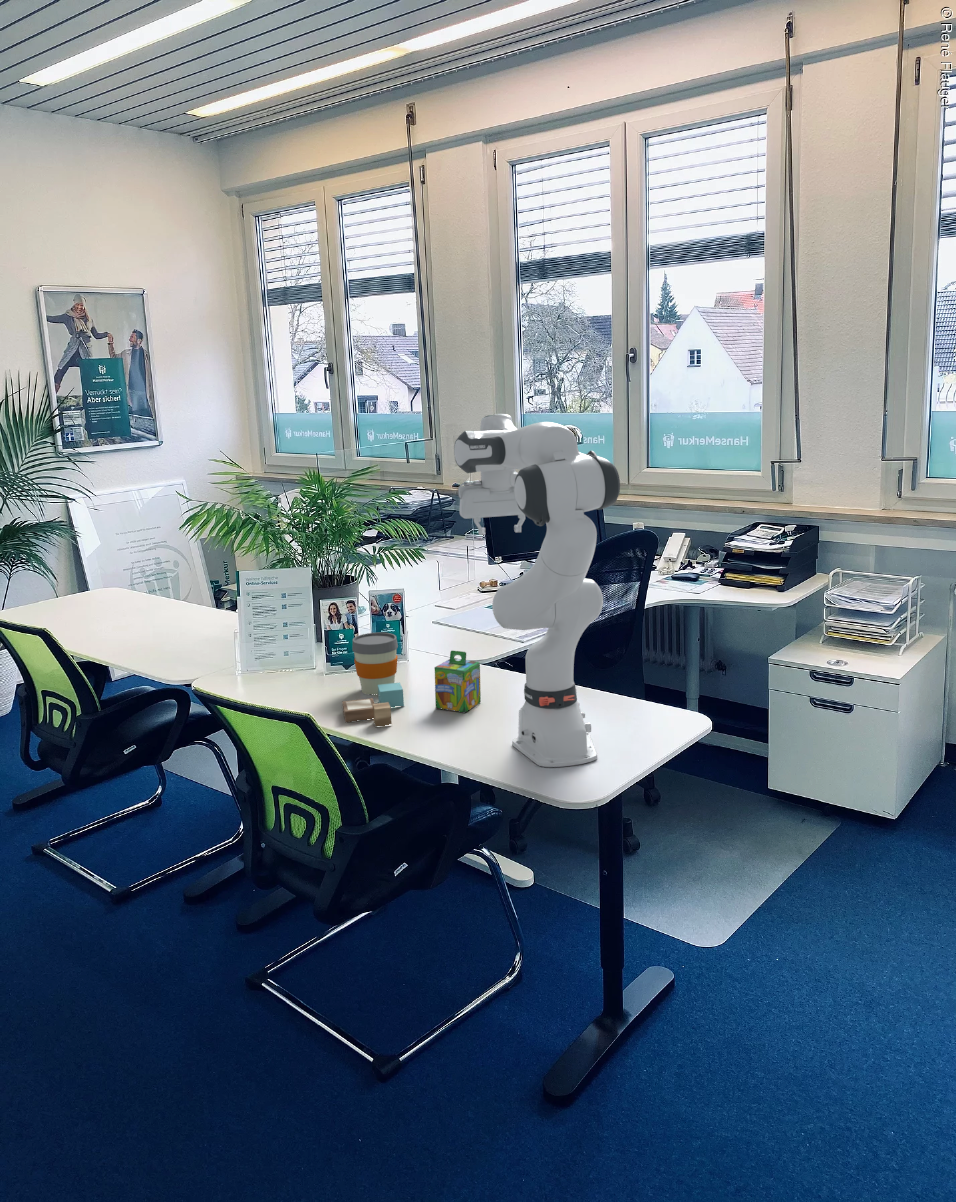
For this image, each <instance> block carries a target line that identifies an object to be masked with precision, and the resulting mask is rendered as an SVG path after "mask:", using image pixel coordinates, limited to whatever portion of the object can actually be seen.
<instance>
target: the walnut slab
mask: <svg viewBox="0 0 956 1202" xmlns="http://www.w3.org/2000/svg"><path fill="white" fill-rule="evenodd" d="M341 702H342V703H341V705H342V713H343V717H344V721H345V723H346V722H347V723H353V722H352V721H356V722H358V721H357V720H365V721H368V720H367V719H372V718H374V715H373V704H376V703H375V701H374V698H373V697H369V698H361V699H351V700H343V701H341Z"/></svg>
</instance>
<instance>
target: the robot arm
mask: <svg viewBox="0 0 956 1202" xmlns="http://www.w3.org/2000/svg"><path fill="white" fill-rule="evenodd" d="M453 456H454V461H455V462H456V465H457V466H458V467H459V469H461V470H462V471H464V473H466V474H471V473H477V472H478V473H480V480H473V481H471V480H470V481H469V480H468V481H463V482H462V483H461V484H460V485H459V486H458V488H457V491H458V492H457V496H458V498H459V515H460V517H461V518H463V519H465V520H466V519H467V520H468V519H473V523H474V524H475V525H476V528H477V530H478V531H477V532H478V535H479V536H485V535H486V527H483V526H481V524H480V523H481V521H482V520H481V518H483V519H484V518H492V517H493V518H494V517H495V518H496V517H507V516H517V518H518V519H519V520H518V522H517V524H514V526H513V530H514V532H515V533H522V526H523V524H524V522H525V520H526V517H527V519H530V520H532V521H533V523H534V525H536V526H539V527H543V526H544V525H545V524H546V525H545V526H546V532H545V536H544V538H543V541H542V543H541V546H540V547H541V548H540V550H539V551H538V552H539V553H538V555H537V558H536V560H535V562H534V564H533V565H532V566H531V567H530V568H529V569H528V570H527V571H525V573H523V574H522V575H520V577H518V578H516V579H515V580H514V581H511V582H509V583H507V584H506V585H503V586H501V587H499V588H498V590H496V592H495V594H494V595H493V599H492V607H491V608H492V614H493V617H494V618H495V621H496V622H497V624H499V626H500V627H501V628H503V629H507V630H516V631H527V630H528V631H530V630H538V629H547V630H546V632H545V634H544V635H543V636H542V638H540V639H538V640H537V641H536V642H535V643H533V644H531V646H530V647H529V648H528V649H527V652H526V654H525V683H524V689H523V693H524V694H523V695H524V700H525V701H524V703H523V705H522V706H521V708H520V709H519V710H518V727H517V728H518V732H517V733H518V735H517V737H516V738H514V739H512V742H511V744H512V747H513V748H515V749H517V750H518V751H519V752H520V753H521V754H523V755H524V756H525V757H527V758H528V759H529V760H531V761H532V762H533V763H535V764H536V765H537V766H539V767H544V768H545V767H546V768H553V767H554V768H556V767H557V768H558V767H560V768H562V767H569V766H570V767H571V766H577V765H583V764H586V763H590V762H593V761H595V760H597V759H598V753H597V751H596V749H595V748H596V747H595V745H594V742H593V740H592V737H591V735H590V734H591V732H592V724H591V722H585V721H584V719H585V718H586V713H585V712H584V711H583V712H582V711H581V707H580V703H579V702H578V697H577V695H578V694H577V693H578V692H577V688H576V683H575V681H574V667H575V665H574V664H575V655H576V648H577V646H578V643H579V641H580V638H581V637H582V635H583V633H584V632H585V630H586V629H587V628H588V627H589V625H590V624H592V622H594V621H595V620H596V619H598V617H599V615H600V614H601V612H602V610H603V605H604V596H603V592H602V589H601V588H600V586H599V585H598V583H597V582H596V581H595V580H593V579H591V578H586V576H587V574H588V571H589V569H590V566H591V564H592V561H593V558H594V555H595V552H596V546H597V541H598V540H597V539H598V538H597V537H598V536H597V535H598V532H597V527H596V525H595V523H594V522H593V520H592V519H591V518H590V517H589V516H587V515H586V514H585V513H586V512H590V511H594V510H598V511H600V510H603V509H607V508H609V507H611V506H613V505H614V504H615V503H616V502H617V500H618V498H619V496H620V491H621V480H620V474H619V472H618V469H617V467H616V466H615V464H613V463H612V462H611V461H609V459H607V458H604V457H603V456H599V455H597V453H596V452H595V451H593V450H590V451H588V452H587V453H582V452H580V451H579V448H578V440H577V438H576V436H575V435H574V432H572V431H571V429H569V428H568V427H566V426H564V425H562V424H559V423H556V422H552V421H540V422H534V423H532V424H531V423H530V424H528V425H525V426H522V427H519V428H517V427H516V426H515V425H514V423H513V418H512V416H511V415H509V414H507V413H495V414H488V415H485V416H483V417H482V418H481V420H480V427H479V430H464V431H463V432H461V434H460V435H459V436H458V437H457V438H456V439H455V441H454V445H453ZM516 470H518V472H517V471H516Z"/></svg>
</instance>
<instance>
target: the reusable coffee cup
mask: <svg viewBox="0 0 956 1202" xmlns="http://www.w3.org/2000/svg"><path fill="white" fill-rule="evenodd" d="M398 647H399V645H398V640H397V635H395V634H393V633H389V632H370V633H369V632H368V633H363V634H360V635H359V634H358V635H357V636H355V637H353V638H352V649H351V650H352V652H353V654H354V658H353V660H354V661H353V663H354V666H355V671H356V675H357V677H358V679H359V683H360V687H361V692H362V694H365V695H367V694H371V695H370V696H377V695H376V694H378V685H381V684H390V683H396V682H395V681H396V679H395V677H396V674H397V671H398V670H397V669H398V655H397V652H398V651H397V649H398ZM372 694H373V695H372ZM374 694H375V695H374Z"/></svg>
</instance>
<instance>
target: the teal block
mask: <svg viewBox="0 0 956 1202" xmlns="http://www.w3.org/2000/svg"><path fill="white" fill-rule="evenodd" d="M377 696H378V697H377V698H378V703H386V702H389V705H390V707H395V706H404V707H405V701H404V698H405V697H404V688H403V686H402V684H401V682H394V683H390V684H381V685H378V695H377Z"/></svg>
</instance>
